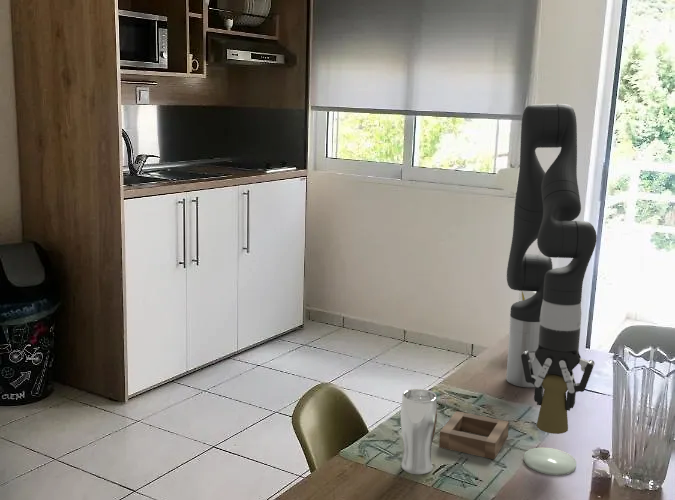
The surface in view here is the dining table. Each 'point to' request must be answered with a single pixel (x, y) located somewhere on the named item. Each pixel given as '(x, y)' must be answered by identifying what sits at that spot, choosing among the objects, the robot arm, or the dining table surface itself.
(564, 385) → the olive pawn
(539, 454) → the coaster
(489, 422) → the frame
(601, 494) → the dining table surface
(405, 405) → the beer glass
